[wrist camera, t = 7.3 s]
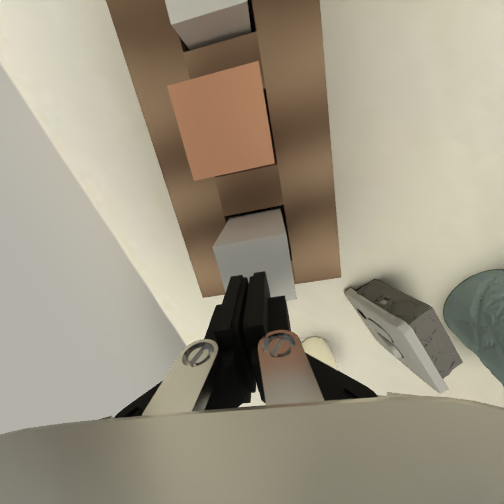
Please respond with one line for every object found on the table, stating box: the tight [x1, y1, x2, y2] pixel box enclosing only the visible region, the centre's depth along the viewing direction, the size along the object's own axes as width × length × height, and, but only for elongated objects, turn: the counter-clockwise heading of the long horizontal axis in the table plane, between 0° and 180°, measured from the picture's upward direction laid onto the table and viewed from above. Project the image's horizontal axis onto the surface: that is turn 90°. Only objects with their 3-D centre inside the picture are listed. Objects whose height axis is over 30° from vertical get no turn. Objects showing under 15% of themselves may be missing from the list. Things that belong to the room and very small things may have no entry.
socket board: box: [106, 0, 341, 298], centre depth 19 cm, size 24×12×5 cm, turn 12°
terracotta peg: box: [167, 61, 275, 181], centre depth 14 cm, size 4×4×6 cm
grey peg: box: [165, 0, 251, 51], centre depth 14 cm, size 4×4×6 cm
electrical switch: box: [345, 279, 462, 393], centre depth 23 cm, size 8×5×8 cm, turn 36°
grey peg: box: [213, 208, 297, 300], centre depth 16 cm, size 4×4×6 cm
